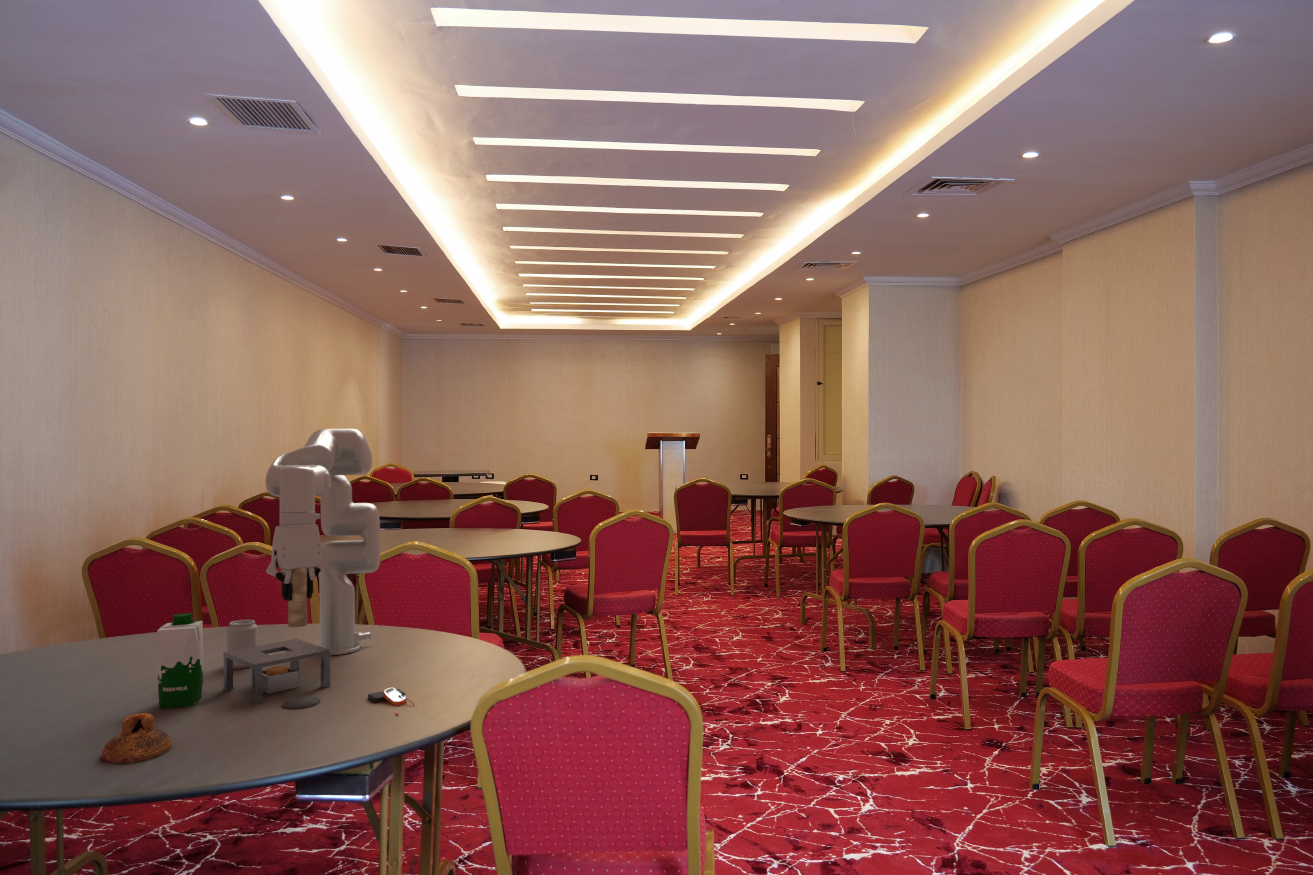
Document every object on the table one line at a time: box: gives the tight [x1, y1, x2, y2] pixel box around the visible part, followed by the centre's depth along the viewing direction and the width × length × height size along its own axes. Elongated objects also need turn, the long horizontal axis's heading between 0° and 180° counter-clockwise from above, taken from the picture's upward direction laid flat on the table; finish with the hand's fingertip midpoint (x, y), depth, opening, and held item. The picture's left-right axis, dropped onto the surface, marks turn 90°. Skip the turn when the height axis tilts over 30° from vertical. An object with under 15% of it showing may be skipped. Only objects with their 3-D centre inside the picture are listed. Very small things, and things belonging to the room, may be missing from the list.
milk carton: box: [156, 612, 204, 710], centre depth 192 cm, size 9×9×20 cm
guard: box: [223, 638, 331, 705], centre depth 204 cm, size 18×18×9 cm
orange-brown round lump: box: [265, 665, 289, 676], centre depth 204 cm, size 5×5×4 cm
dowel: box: [287, 567, 308, 628], centre depth 193 cm, size 4×4×16 cm
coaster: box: [281, 696, 321, 710], centre depth 191 cm, size 8×8×1 cm
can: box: [226, 619, 259, 670], centre depth 225 cm, size 8×8×12 cm
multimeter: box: [367, 686, 415, 716], centre depth 191 cm, size 18×12×3 cm, turn 31°
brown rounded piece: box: [100, 713, 173, 765], centre depth 161 cm, size 12×12×7 cm
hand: (297, 597), depth 193 cm, fingers closed on dowel, 4 cm apart
